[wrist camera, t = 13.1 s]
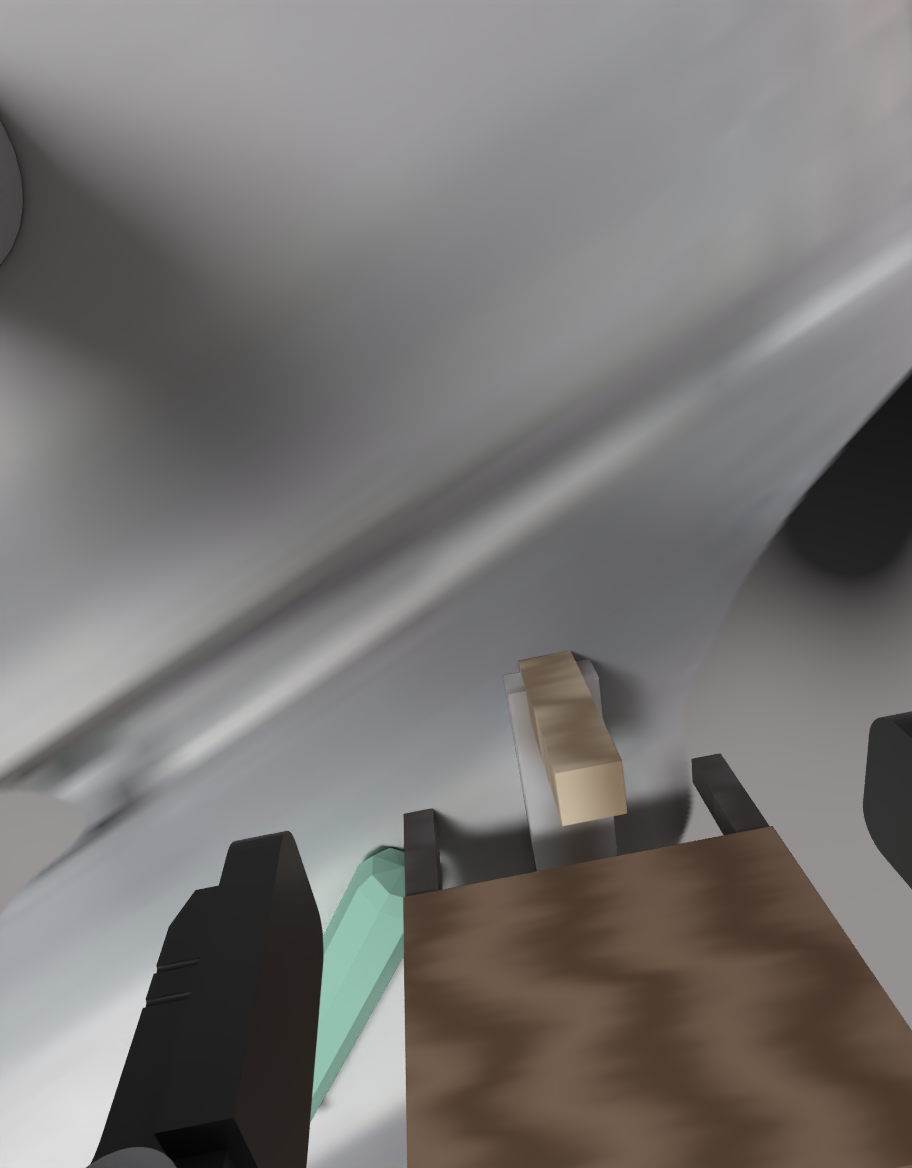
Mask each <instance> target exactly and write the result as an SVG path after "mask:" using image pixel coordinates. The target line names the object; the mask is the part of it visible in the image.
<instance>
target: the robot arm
mask: <svg viewBox="0 0 912 1168" xmlns="http://www.w3.org/2000/svg"><path fill="white" fill-rule="evenodd" d="M22 207H23V195H22V182H21V174H20V171H19V167H18V163H17V159H16V156H15V152H14V149H13V146H12V144H11V142H10V140H9V138H8V136H7V134H6V131H5V129H4V127H3V125H2V123H1V121H0V264H1V263H2V262H3V260H4V259H5V257H6V256H7V255H8V253H9V252H10V250H11V249H12V246H13V244H14V241H15V239H16V236H17V233H18V231H19V228H20V222H21V215H22ZM864 788H865V789H864V799H863V812H864V818H865V822H866V825H867V828H868V830H869V833H870V835H871V837H872V839H873V841H874V843H875V845H876V846H877V848H878V849H879V851H880V852H881V853H882V855H883V856H884V857H885V858H886V859H887V861H888V862H889V863H890V864H891V865H892V866H893V868H894V869H895V870H896V871H897V872H898V873H899V875H900V876H901V877H902V878H903V879H904V880H905V882H906V883H907V884H908V885H909V886H910V888H911V889H912V712H907V713H902V714H896V715H891V716H886V717H881V718H878V719H876V720H875V721H874V722H873V723H872V725H871V728H870V733H869V743H868V754H867V766H866V776H865V787H864ZM323 959H324V946H323V933H322V925H321V920H320V915H319V911H318V908H317V905H316V902H315V899H314V896H313V893H312V890H311V887H310V884H309V881H308V878H307V875H306V872H305V869H304V866H303V863H302V860H301V857H300V854H299V851H298V848H297V845H296V842H295V839H294V837H293V835H292V834H291V832H289V831H284V832H279V833H274V834H269V835H264V836H258V837H253V838H248V839H243V840H238V841H234V842H232V844H231V845H230V847H229V849H228V853H227V856H226V860H225V864H224V868H223V872H222V875H221V879H220V883H219V886H214V887H209V888H204V889H199V890H195V892H194V893H193V894H192V896H191V897H190V899H189V900H188V901H187V903H186V904H185V905H184V907H183V908H182V909H181V911H180V912H179V914H178V915H177V916H176V918H175V919H174V920H173V922H172V923H171V925H170V926H169V928H168V931H167V935H166V938H165V941H164V944H163V947H162V950H161V953H160V956H159V959H158V963H157V973H156V974H154V975H153V978H152V981H151V984H150V987H149V991H148V994H147V997H146V1008H143V1009H142V1012H141V1015H140V1019H139V1022H138V1025H137V1028H136V1031H135V1034H134V1037H133V1040H132V1043H131V1047H130V1050H129V1053H128V1056H127V1059H126V1062H125V1065H124V1068H123V1071H122V1075H121V1078H120V1081H119V1084H118V1087H117V1090H116V1093H115V1096H114V1099H113V1103H112V1106H111V1109H110V1112H109V1115H108V1118H107V1121H106V1124H105V1128H104V1131H103V1134H102V1137H101V1140H100V1143H99V1145H98V1148H97V1151H96V1153H95V1156H94V1158H93V1160H92V1162H91V1164H90V1165H89V1166H87V1167H86V1168H306V1165H307V1153H308V1141H309V1129H310V1117H311V1105H312V1093H313V1081H314V1069H315V1057H316V1045H317V1033H318V1021H319V1009H320V997H321V985H322V973H323Z"/></svg>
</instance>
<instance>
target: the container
mask: <svg viewBox="0 0 912 1168" xmlns="http://www.w3.org/2000/svg"><path fill="white" fill-rule="evenodd" d="M403 897H405V861H404V852H403V851H399V850H396V849H392V848H388V849H386V850H384V851H381V852H379V853H377V854H375V855H373V856H371V857H370V858H368V859H367V860H365V861H364V862H362V863H361V864H359V866H358V868H357V870H356V872H355V874H354V876H353V878H352V880H351V882H350V884H349V886H348V888H347V890H346V892H345V894H344V896H343V898H342V900H341V902H340V904H339V906H338V908H337V910H336V912H335V914H334V916H333V918H332V920H331V922H330V924H329V926H328V928H327V930H326V932H325V934H324V936H323V946H324V959H323V973H322V985H321V997H320V1009H319V1021H318V1033H317V1045H316V1057H315V1069H314V1081H313V1093H312V1105H311V1117H310V1122H311V1120H312V1118H313V1117H314V1115H315V1113H316V1111H317V1109H318V1108H319V1106H320V1104H321V1102H322V1101H323V1099H324V1097H325V1095H326V1093H327V1092H328V1090H329V1088H330V1086H331V1084H332V1083H333V1081H334V1079H335V1077H336V1075H337V1074H338V1072H339V1070H340V1068H341V1067H342V1065H343V1063H344V1061H345V1059H346V1058H347V1056H348V1054H349V1052H350V1050H351V1049H352V1047H353V1045H354V1043H355V1041H356V1040H357V1038H358V1036H359V1034H360V1033H361V1031H362V1029H363V1027H364V1025H365V1024H366V1022H367V1020H368V1018H369V1016H370V1015H371V1013H372V1011H373V1009H374V1007H375V1006H376V1004H377V1002H378V1000H379V999H380V997H381V995H382V993H383V991H384V990H385V988H386V986H387V984H388V982H389V981H390V979H391V977H392V975H393V973H394V972H395V970H396V968H397V966H398V965H399V963H400V961H401V959H402V957H403V956H404V928H403Z"/></svg>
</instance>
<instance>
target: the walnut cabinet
mask: <svg viewBox="0 0 912 1168" xmlns="http://www.w3.org/2000/svg"><path fill="white" fill-rule="evenodd" d="M692 778H693V783H694V785H695V787H696V789H697V790H698V792H699V794H700V795H701V797H702V799H703V801H704V802H705V804H706V805H707V807H708V809H709V811H710V812H711V814H712V816H713V818H714V819H715V821H716V823H717V824H718V826H719V828H720V830H721V831H722V833H723V835H724V836H719V837H713V838H708V839H703V840H698V841H693V842H687V843H682V844H677V845H672V846H667V847H661V848H656V849H651V850H646V851H641V852H635V853H630V854H625V855H620V856H615V857H609V858H604V859H599V860H594V861H589V862H583V863H578V864H573V865H568V866H563V867H558V868H552V869H547V870H542V871H537V872H532V873H526V874H521V875H516V876H511V877H506V878H500V879H495V880H490V881H485V882H480V883H474V884H469V885H464V886H459V887H454V888H448V889H443V890H442V878H441V866H440V853H439V841H438V830H437V826H436V822H435V817H434V813H433V809H428V810H423V811H418V812H413V813H408V814H404V861H405V897H403V928H404V990H405V1052H406V1115H407V1168H912V1030H911V1029H910V1028H909V1026H908V1024H907V1023H906V1021H905V1020H904V1018H903V1017H902V1016H901V1014H900V1013H899V1011H898V1010H897V1008H896V1007H895V1005H894V1004H893V1002H892V1001H891V999H890V998H889V996H888V995H887V993H886V992H885V991H884V989H883V988H882V986H881V985H880V983H879V982H878V980H877V979H876V977H875V976H874V974H873V973H872V972H871V970H870V969H869V967H868V966H867V964H866V963H865V961H864V960H863V958H862V957H861V955H860V954H859V952H858V951H857V949H856V948H855V947H854V945H853V944H852V942H851V941H850V939H849V938H848V936H847V935H846V933H845V932H844V930H843V929H842V927H841V926H840V925H839V923H838V922H837V920H836V919H835V917H834V916H833V914H832V913H831V911H830V910H829V908H828V907H827V905H826V904H825V902H824V901H823V900H822V898H821V897H820V895H819V894H818V892H817V891H816V889H815V888H814V886H813V885H812V883H811V882H810V880H809V879H808V877H807V876H806V875H805V873H804V872H803V870H802V869H801V867H800V866H799V864H798V863H797V861H796V860H795V858H794V857H793V855H792V854H791V853H790V851H789V850H788V848H787V847H786V845H785V844H784V842H783V841H782V839H781V838H780V836H779V835H778V834H777V832H776V830H775V829H774V828H773V826H771V827H770V826H769V825H768V823H767V822H766V820H765V819H764V817H763V816H762V814H761V813H760V812H759V810H758V808H757V807H756V806H755V804H754V803H753V801H752V800H751V798H750V797H749V795H748V794H747V792H746V791H745V789H744V788H743V786H742V785H741V783H740V782H739V780H738V779H737V777H736V776H735V774H734V773H733V771H732V770H731V769H730V767H729V765H728V764H727V763H726V761H725V760H724V758H723V757H722V755H721V754H715V755H710V756H704V757H699V758H694V759H692Z"/></svg>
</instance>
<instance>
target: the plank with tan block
mask: <svg viewBox="0 0 912 1168" xmlns="http://www.w3.org/2000/svg"><path fill="white" fill-rule="evenodd" d="M518 662H519V668H520V672H519V673H513V674H508V675H503V679H504V685H505V691H506V697H507V703H508V709H509V715H510V720H511V726H512V732H513V738H514V744H515V750H516V755H517V761H518V767H519V773H520V779H521V785H522V790H523V796H524V802H525V808H526V814H527V820H528V826H529V831H530V837H531V843H532V849H533V855H534V861H535V866H536V872H537V871H542V870H547V869H552V868H558V867H563V866H568V865H573V864H578V863H583V862H589V861H594V860H599V859H604V858H609V857H615V856H618V853H617V843H616V834H615V825H614V816H617V815H622V814H627V805H626V795H625V785H624V774H623V764H622V759H621V757H620V755H619V753H618V751H617V749H616V747H615V744H614V742H613V740H612V738H611V736H610V734H609V732H608V729H607V727H606V725H605V723H604V721H603V714H602V705H601V696H600V686H599V677H598V675H597V673H596V671H595V669H594V667H593V665H592V663H591V661H590V659H586V660H581V661H575V659H574V657H573V655H572V653H571V651H567V652H562V653H557V654H551V655H546V656H541V657H536V658H531V659H526V660H520V661H518Z"/></svg>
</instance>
